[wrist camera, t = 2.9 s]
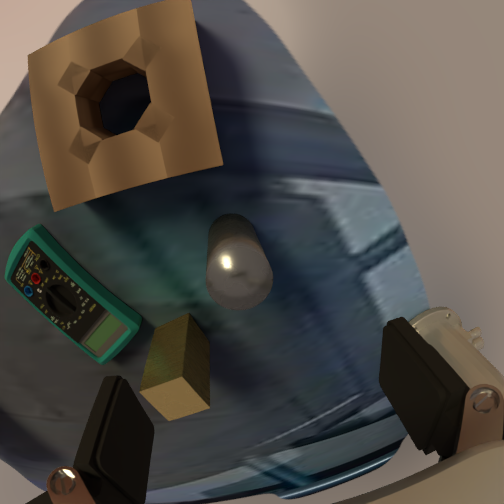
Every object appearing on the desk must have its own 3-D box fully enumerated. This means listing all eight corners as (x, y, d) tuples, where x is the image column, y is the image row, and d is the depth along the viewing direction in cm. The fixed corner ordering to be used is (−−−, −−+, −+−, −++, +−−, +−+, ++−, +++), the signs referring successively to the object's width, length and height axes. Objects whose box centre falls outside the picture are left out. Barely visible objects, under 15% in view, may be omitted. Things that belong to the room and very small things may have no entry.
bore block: (193, 19, 20) (189, -6, 15) (221, 160, 24) (223, 165, 20) (55, 65, 19) (27, 55, 15) (79, 199, 24) (54, 211, 19)
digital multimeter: (38, 216, 24) (22, 224, 21) (146, 316, 29) (141, 333, 26) (10, 266, 25) (-4, 277, 23) (109, 354, 30) (102, 371, 28)
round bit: (250, 209, 26) (267, 242, 18) (258, 252, 28) (277, 302, 19) (203, 219, 26) (198, 257, 18) (214, 262, 27) (214, 315, 19)
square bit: (189, 312, 29) (181, 376, 20) (209, 342, 30) (210, 407, 22) (155, 328, 29) (139, 391, 21) (176, 356, 31) (169, 420, 22)
